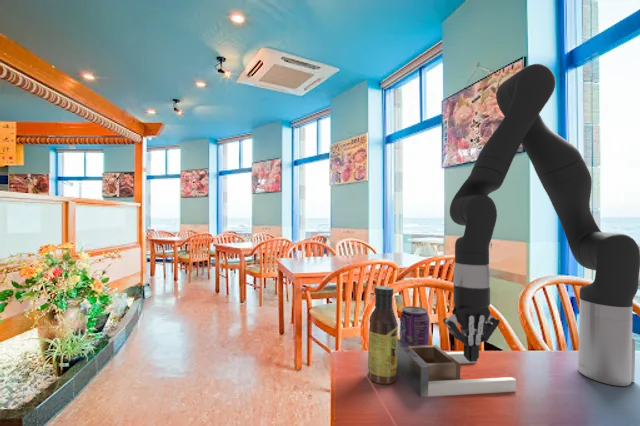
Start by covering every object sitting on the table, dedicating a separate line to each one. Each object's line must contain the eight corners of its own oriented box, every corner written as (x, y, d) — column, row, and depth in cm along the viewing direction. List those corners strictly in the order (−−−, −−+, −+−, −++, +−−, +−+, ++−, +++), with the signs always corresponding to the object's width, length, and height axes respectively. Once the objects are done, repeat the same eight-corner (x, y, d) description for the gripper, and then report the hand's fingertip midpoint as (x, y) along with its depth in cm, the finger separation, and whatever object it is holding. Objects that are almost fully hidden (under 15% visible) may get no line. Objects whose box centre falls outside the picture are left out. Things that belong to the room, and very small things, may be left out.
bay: (473, 361, 81) (473, 337, 81) (516, 392, 67) (516, 362, 67) (393, 364, 78) (393, 339, 78) (420, 397, 64) (421, 367, 64)
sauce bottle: (397, 388, 67) (399, 292, 67) (366, 384, 68) (369, 289, 68) (396, 373, 73) (398, 285, 74) (368, 369, 75) (370, 283, 75)
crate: (435, 366, 77) (436, 345, 77) (460, 388, 67) (460, 364, 67) (403, 367, 76) (404, 346, 76) (423, 390, 66) (424, 365, 66)
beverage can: (403, 348, 87) (405, 304, 87) (431, 355, 84) (432, 308, 84) (395, 358, 81) (397, 310, 81) (424, 365, 78) (425, 315, 78)
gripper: (487, 279, 78) (486, 351, 77) (435, 280, 76) (435, 354, 75) (510, 286, 70) (509, 366, 70) (453, 287, 68) (453, 370, 68)
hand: (471, 360), depth 73 cm, fingers closed
